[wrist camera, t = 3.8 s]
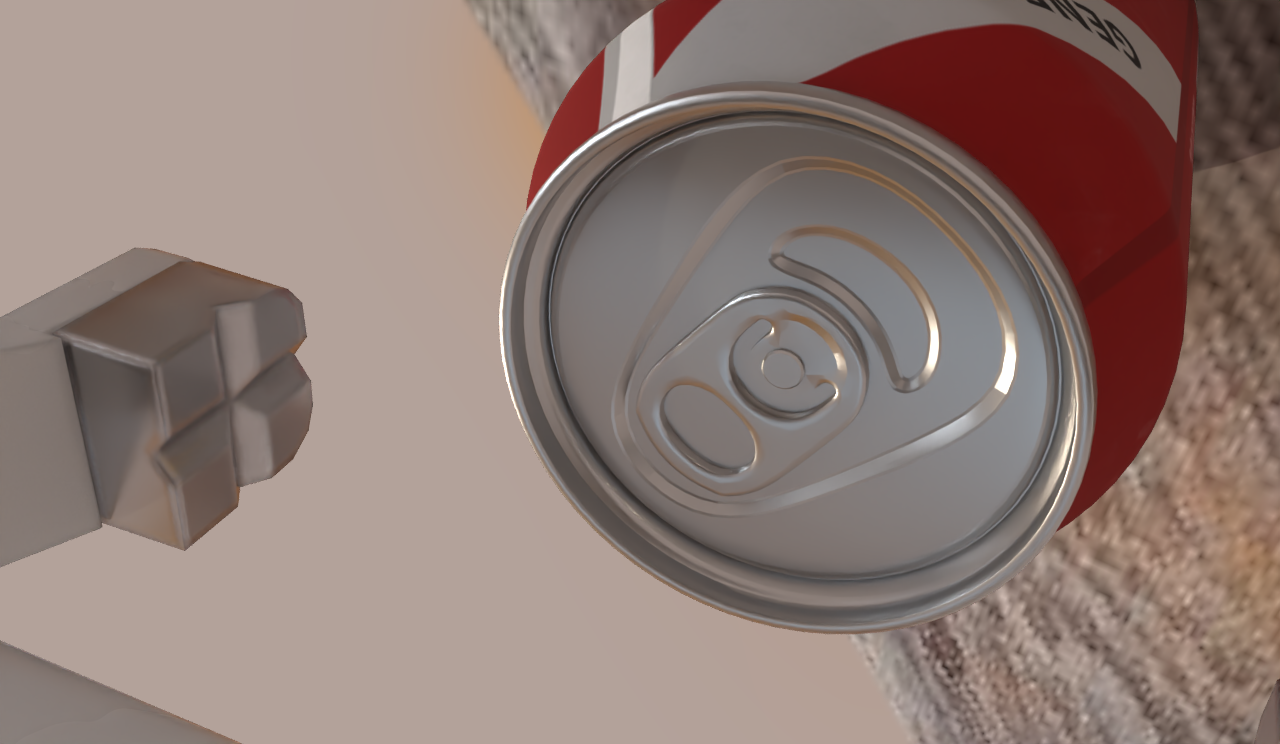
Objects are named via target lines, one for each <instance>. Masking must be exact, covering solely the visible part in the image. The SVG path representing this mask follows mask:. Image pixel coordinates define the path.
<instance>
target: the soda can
mask: <svg viewBox="0 0 1280 744" xmlns="http://www.w3.org/2000/svg"><path fill="white" fill-rule="evenodd" d="M1198 54H1199V28H1198V18H1197V10H1196V2H1195V0H666V1H664V2H662V3H661V4H659V5H658V6H656V7H655V8H653V9H652V10H650V11H649V12H648V13H646V14H645V15H643V16H642V17H640V18H639V19H637V20H636V21H634V22H633V23H632V24H631V25H629V26H628V27H627V28H626V29H625V30H624V31H622V32H621V33H620V34H619V35H618V36H617V37H616V38H614V39H613V40H612V41H611V42H610V43H609V44H608V45H607V46H606V47H605V48H604V49H603V50H602V51H601V52H600V53H599V54H598V55H597V57H596V58H595V59H594V60H593V61H592V62H591V63H590V64H589V65H588V66H587V67H586V69H585V70H584V71H583V73H582V74H581V75H580V77H579V78H578V80H577V81H576V82H575V84H574V85H573V86H572V88H571V89H570V90H569V92H568V94H567V95H566V97H565V99H564V101H563V102H562V104H561V106H560V107H559V109H558V111H557V113H556V114H555V116H554V118H553V120H552V122H551V125H550V127H549V129H548V131H547V134H546V136H545V138H544V140H543V143H542V146H541V149H540V152H539V155H538V158H537V161H536V164H535V168H534V171H533V175H532V180H531V185H530V190H529V194H528V199H527V209H526V212H525V214H524V216H523V218H522V221H521V222H520V225H519V227H518V229H517V231H516V234H515V236H514V239H513V241H512V245H511V248H510V251H509V254H508V257H507V260H506V264H505V269H504V275H503V279H502V284H501V294H500V305H499V335H500V345H501V355H502V361H503V366H504V371H505V376H506V380H507V384H508V387H509V391H510V394H511V398H512V401H513V404H514V407H515V409H516V412H517V415H518V417H519V420H520V422H521V425H522V427H523V429H524V432H525V434H526V435H527V438H528V440H529V442H530V444H531V446H532V448H533V450H534V451H535V453H536V455H537V456H538V458H539V460H540V462H541V463H542V465H543V467H544V468H545V470H546V472H547V473H548V475H549V476H550V477H551V479H552V480H553V482H554V483H555V485H557V487H558V489H559V490H560V492H561V493H562V494H563V495H564V497H565V498H566V499H567V500H568V501H569V503H570V504H571V505H572V506H573V508H574V509H575V510H576V511H577V512H578V513H579V514H580V516H582V518H583V519H584V520H585V521H586V522H587V523H588V524H589V525H590V526H591V527H592V528H593V529H594V530H595V531H596V532H597V533H598V534H599V535H600V536H601V537H602V538H604V539H605V540H606V541H607V542H608V543H609V544H610V545H611V546H612V547H614V548H615V549H616V550H617V551H619V552H620V553H621V554H622V555H624V556H625V557H626V558H627V559H629V560H630V561H631V562H633V563H634V564H635V565H637V566H638V567H640V568H641V569H642V570H644V571H645V572H647V573H648V574H650V575H651V576H653V577H654V578H656V579H657V580H659V581H661V582H663V583H664V584H666V585H668V586H669V587H671V588H673V589H675V590H676V591H678V592H680V593H682V594H684V595H686V596H688V597H690V598H692V599H694V600H696V601H698V602H700V603H703V604H705V605H707V606H710V607H712V608H715V609H718V610H720V611H722V612H725V613H727V614H731V615H734V616H737V617H740V618H743V619H746V620H749V621H752V622H756V623H761V624H765V625H769V626H773V627H777V628H783V629H789V630H795V631H802V632H811V633H823V634H864V633H877V632H885V631H891V630H897V629H903V628H908V627H912V626H916V625H920V624H923V623H927V622H931V621H934V620H936V619H939V618H942V617H945V616H947V615H950V614H953V613H956V612H958V611H960V610H962V609H964V608H966V607H968V606H970V605H972V604H974V603H976V602H978V601H980V600H981V599H983V598H985V597H986V596H988V595H989V594H991V593H993V592H994V591H996V590H997V589H999V588H1001V587H1002V586H1003V585H1004V584H1006V583H1007V582H1008V581H1009V580H1011V579H1012V578H1013V577H1014V576H1016V575H1017V574H1018V573H1020V572H1021V571H1022V570H1023V569H1024V568H1025V567H1026V566H1027V565H1028V564H1029V563H1030V562H1031V561H1032V560H1033V559H1034V558H1035V557H1036V556H1037V555H1038V554H1039V553H1040V551H1041V550H1042V549H1043V548H1044V546H1045V545H1046V544H1047V543H1048V541H1049V540H1050V539H1051V537H1052V536H1053V535H1054V534H1055V532H1056V531H1058V530H1060V529H1061V528H1063V527H1064V526H1066V525H1067V524H1069V523H1070V522H1071V521H1073V520H1074V519H1075V518H1076V517H1078V516H1079V515H1080V514H1082V513H1083V512H1084V511H1085V510H1087V509H1088V508H1089V507H1090V506H1092V505H1093V504H1094V503H1095V502H1096V501H1097V500H1098V499H1099V498H1100V497H1101V496H1102V495H1103V494H1104V493H1105V492H1106V491H1107V490H1108V489H1109V488H1110V487H1111V486H1112V485H1113V484H1114V483H1115V482H1116V481H1117V480H1118V478H1119V477H1120V476H1121V475H1122V473H1123V472H1124V471H1125V470H1126V468H1127V467H1128V466H1129V465H1130V464H1131V462H1132V461H1133V460H1134V458H1135V457H1136V455H1137V454H1138V452H1139V451H1140V449H1141V447H1142V446H1143V444H1144V443H1145V441H1146V440H1147V438H1148V436H1149V435H1150V433H1151V432H1152V430H1153V428H1154V425H1155V423H1156V421H1157V419H1158V417H1159V415H1160V413H1161V411H1162V409H1163V407H1164V405H1165V402H1166V399H1167V396H1168V393H1169V391H1170V388H1171V385H1172V382H1173V379H1174V376H1175V373H1176V369H1177V365H1178V360H1179V355H1180V351H1181V346H1182V341H1183V334H1184V323H1185V312H1186V299H1187V279H1188V259H1189V238H1190V218H1191V197H1192V177H1193V156H1194V136H1195V116H1196V95H1197V75H1198Z"/></svg>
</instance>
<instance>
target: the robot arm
mask: <svg viewBox="0 0 1280 744" xmlns="http://www.w3.org/2000/svg"><path fill="white" fill-rule="evenodd" d="M306 337H307V335H306V328H305V320H304V313H303V306H302V302H301V301H300V300H299V299H298V298H296V297H295V296H294V294H293V293H292V292H290V291H289V290H288V289H286V288H283V287H279V286H276V285H273V284H270V283H267V282H263V281H260V280H257V279H254V278H250V277H247V276H244V275H241V274H238V273H234V272H231V271H227V270H225V269H221V268H218V267H215V266H212V265H208V264H205V263H202V262H195V261H193V260H191V259H189V258H186V257H182V256H178V255H175V254H171V253H167V252H164V251H160V250H157V249H147V248H134V249H131V250H130V251H128V252H126V253H124V254H122V255H120V256H118V257H116V258H114V259H112V260H110V261H108V262H106V263H104V264H102V265H101V266H99V267H97V268H95V269H93V270H91V271H89V272H87V273H85V274H83V275H81V276H79V277H77V278H75V279H73V280H72V281H70V282H68V283H66V284H64V285H62V286H60V287H58V288H56V289H54V290H52V291H50V292H48V293H46V294H44V295H43V296H41V297H39V298H37V299H35V300H33V301H31V302H29V303H27V304H25V305H23V306H21V307H19V308H17V309H16V310H14V311H12V312H10V313H8V314H6V315H4V316H2V317H0V567H2V566H5V565H7V564H10V563H12V562H15V561H17V560H20V559H22V558H25V557H28V556H30V555H33V554H36V553H38V552H41V551H43V550H46V549H48V548H51V547H54V546H56V545H59V544H61V543H64V542H67V541H69V540H71V539H74V538H77V537H79V536H82V535H84V534H87V533H90V532H92V531H95V530H97V529H100V528H101V527H102V523H104V524H107V525H110V526H113V527H116V528H119V529H122V530H125V531H128V532H131V533H134V534H137V535H140V536H143V537H146V538H148V539H152V540H155V541H158V542H160V543H163V544H166V545H169V546H172V547H175V548H178V549H181V550H184V551H185V550H186V549H188V548H189V547H190V546H191V545H192V544H194V543H195V542H196V541H197V540H198V539H200V538H201V537H202V536H203V535H204V534H206V533H207V532H208V531H209V530H210V529H211V528H213V527H214V526H215V525H216V524H218V523H219V522H220V521H221V520H222V519H224V518H225V517H226V516H227V515H228V514H229V513H231V512H232V511H233V510H234V509H236V508H237V507H238V501H239V492H240V487H243V486H245V485H249V484H253V483H256V482H260V481H263V480H267V479H270V478H272V477H273V476H274V475H276V474H277V473H278V472H279V471H280V470H281V469H282V468H284V467H285V466H286V465H287V464H288V463H289V462H290V461H291V460H293V458H294V456H295V454H296V453H297V451H298V449H299V447H300V445H301V443H302V442H303V440H304V438H305V436H306V434H307V432H308V430H309V424H310V418H311V413H312V407H313V402H312V390H311V380H310V379H309V377H308V376H307V374H306V372H305V371H304V369H303V367H302V366H301V364H300V363H299V361H298V360H297V358H296V356H295V355H294V354H295V353H296V351H297V350H298V348H299V347H300V346H301V344H302V343H303V341H304V340H305V338H306ZM0 744H242V743H239V742H237V741H235V740H232V739H230V738H228V737H225V736H223V735H221V734H218V733H216V732H214V731H211V730H209V729H206V728H204V727H202V726H199V725H197V724H195V723H193V722H190V721H188V720H185V719H183V718H180V717H179V716H176V715H174V714H171V713H169V712H167V711H164V710H162V709H160V708H157V707H155V706H153V705H150V704H148V703H146V702H143V701H141V700H139V699H136V698H134V697H132V696H129V695H127V694H124V693H122V692H120V691H117V690H115V689H113V688H111V687H108V686H105V685H103V684H101V683H99V682H96V681H94V680H92V679H89V678H87V677H85V676H82V675H80V674H78V673H75V672H73V671H71V670H68V669H66V668H63V667H61V666H59V665H57V664H54V663H52V662H50V661H47V660H45V659H42V658H40V657H38V656H35V655H33V654H31V653H28V652H26V651H24V650H21V649H19V648H17V647H14V646H12V645H10V644H7V643H5V642H2V641H0ZM1254 744H1280V679H1278V680H1277V682H1276V684H1275V686H1274V688H1273V691H1272V693H1271V695H1270V698H1269V700H1268V702H1267V705H1266V707H1265V709H1264V711H1263V714H1262V716H1261V719H1260V723H1259V727H1258V730H1257V734H1256V737H1255V741H1254Z"/></svg>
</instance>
